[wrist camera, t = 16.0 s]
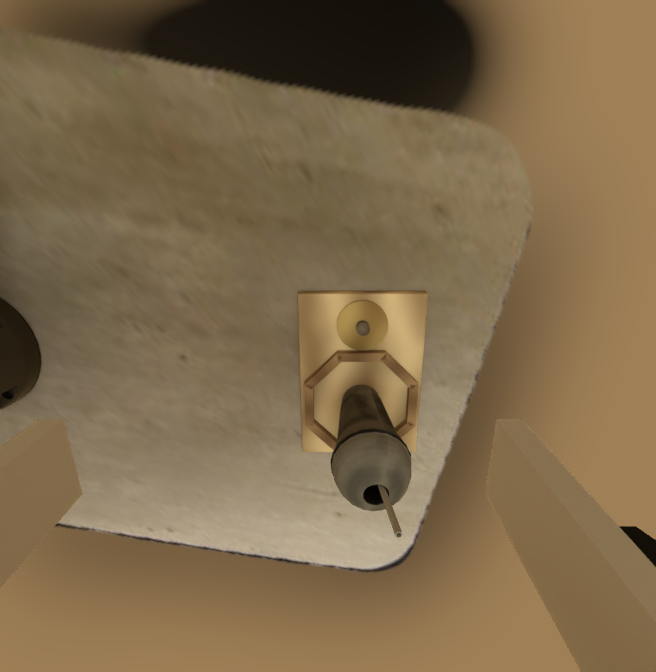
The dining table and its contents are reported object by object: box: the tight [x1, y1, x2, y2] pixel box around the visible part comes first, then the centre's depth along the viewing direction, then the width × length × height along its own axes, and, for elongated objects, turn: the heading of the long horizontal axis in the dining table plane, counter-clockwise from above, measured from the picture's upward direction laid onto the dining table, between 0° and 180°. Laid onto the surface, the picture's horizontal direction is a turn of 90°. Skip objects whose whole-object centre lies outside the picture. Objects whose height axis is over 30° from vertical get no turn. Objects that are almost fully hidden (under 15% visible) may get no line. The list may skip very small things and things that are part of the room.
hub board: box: [298, 291, 428, 452], centre depth 44 cm, size 14×20×3 cm
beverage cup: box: [331, 385, 411, 538], centre depth 36 cm, size 7×7×20 cm
